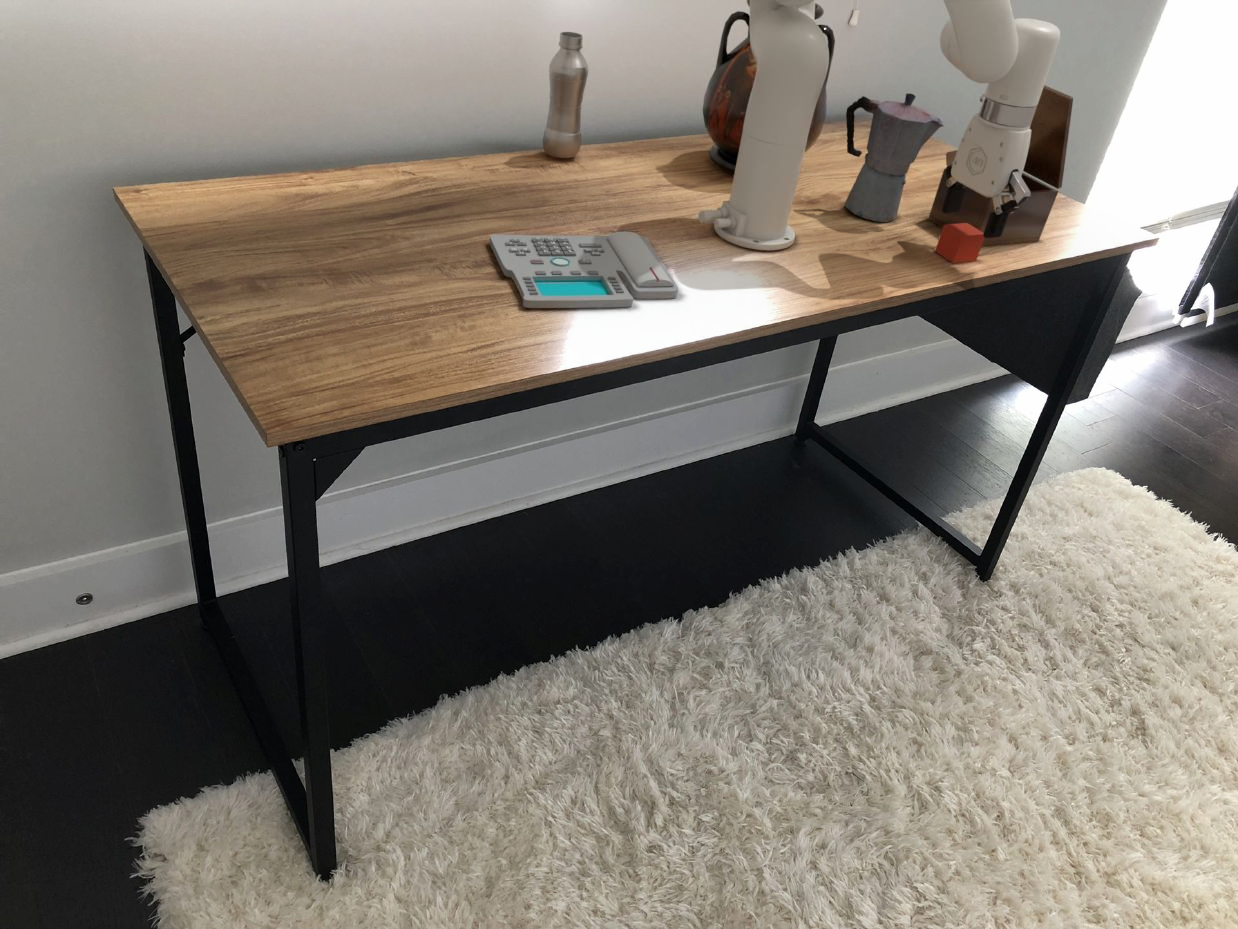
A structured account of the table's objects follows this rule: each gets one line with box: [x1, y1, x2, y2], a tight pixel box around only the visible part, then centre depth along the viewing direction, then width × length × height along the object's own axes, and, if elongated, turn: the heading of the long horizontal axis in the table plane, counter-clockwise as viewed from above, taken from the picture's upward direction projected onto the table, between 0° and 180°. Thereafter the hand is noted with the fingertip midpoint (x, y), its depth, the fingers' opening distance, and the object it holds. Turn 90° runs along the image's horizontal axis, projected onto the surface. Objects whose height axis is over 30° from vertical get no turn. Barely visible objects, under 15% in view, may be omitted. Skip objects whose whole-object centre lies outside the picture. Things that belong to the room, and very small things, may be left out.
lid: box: [1023, 85, 1074, 190], centre depth 158 cm, size 15×12×1 cm
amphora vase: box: [701, 0, 836, 176], centre depth 169 cm, size 22×22×28 cm
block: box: [934, 223, 984, 264], centre depth 153 cm, size 5×4×4 cm
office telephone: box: [489, 231, 679, 309], centre depth 133 cm, size 23×3×20 cm
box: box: [927, 168, 1059, 248], centre depth 163 cm, size 15×12×9 cm
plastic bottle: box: [542, 31, 589, 159], centre depth 164 cm, size 6×7×20 cm
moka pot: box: [844, 93, 945, 223], centre depth 160 cm, size 10×15×20 cm, turn 78°
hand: (970, 224), depth 152 cm, fingers open, 9 cm apart
